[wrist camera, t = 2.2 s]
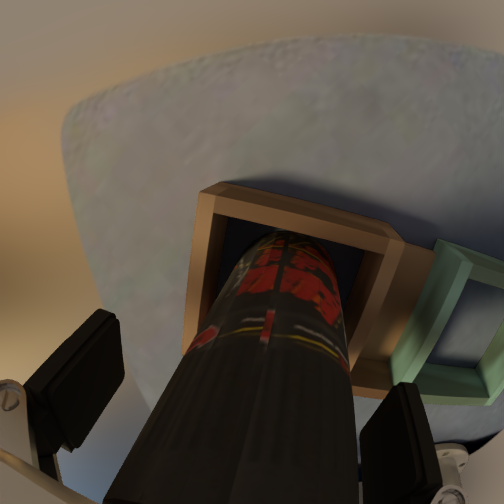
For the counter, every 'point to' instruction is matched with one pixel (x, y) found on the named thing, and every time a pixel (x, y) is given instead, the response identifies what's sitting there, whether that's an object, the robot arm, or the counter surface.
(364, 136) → the counter surface
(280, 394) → the deodorant
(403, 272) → the holder
